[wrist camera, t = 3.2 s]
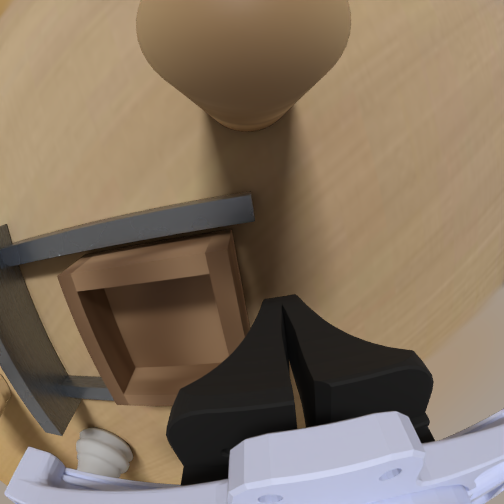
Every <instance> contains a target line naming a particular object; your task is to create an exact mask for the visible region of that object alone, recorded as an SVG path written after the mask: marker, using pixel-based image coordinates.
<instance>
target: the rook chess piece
mask: <svg viewBox="0 0 504 504" xmlns="http://www.w3.org/2000/svg"><path fill="white" fill-rule="evenodd" d="M76 450H77V453H78V454H77V459H78V467H77V470H79V471H83V472H87V473H92V474H97V475H102V476H107V477H113V478H119V477H120V474H122V473H124V472H126V471H127V470H128V468H129V465H130V464H129V462H130V461H132V459H133V454H132V452H131V450H130V448H129V445H128V444H127V443H126V442H125V441H124V440H123V439H121V438H120V437H118V436H117V435H115V434H114V433H111V432H109V431H107V430H104V429H100V428H87V429H84V430H83V431H81V432H80V439H79V440H78V441H77V444H76Z"/></svg>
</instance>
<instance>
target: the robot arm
mask: <svg viewBox="0 0 504 504" xmlns="http://www.w3.org/2000/svg"><path fill="white" fill-rule="evenodd" d="M289 361H290V365H291V368H292V371H293V375H294V378H295V382H296V385H297V388H298V392H299V395H300V399H301V403H302V407H303V412H304V418H305V424H306V428H301V429H297V421H296V412H295V403H294V396H293V390H292V385H291V380H290V376H289ZM432 389H433V378H432V374H431V373H430V371H429V370H428V368H427V367H426V365H425V364H424V363H423V361H422V360H421V359H420V358H419V357H418V356H417V354H416V353H415V352H414V351H412V350H405V349H398V348H391V347H386V346H382V345H378V344H374V343H371V342H368V341H365V340H362V339H359V338H357V337H354V336H352V335H350V334H347V333H345V332H344V331H342V330H340V329H338V328H336V327H334V326H333V325H331V324H329V323H328V322H327V321H325V320H324V319H322V318H321V317H320V316H319V315H317V314H316V313H315V312H314V311H313V310H311V309H310V308H309V307H308V306H307V305H306V304H305V303H304V302H303V301H302V300H301V299H300V298H299V297H298V296H297V295H296V294H294V295H288V296H282V297H275V298H268V299H264V301H263V302H262V306H261V308H260V311H259V313H258V315H257V317H256V319H255V321H254V323H253V325H252V327H251V328H250V330H249V332H248V333H247V335H246V336H245V338H244V339H243V341H242V342H241V343H240V344H239V346H238V347H237V348H236V349H235V350H234V352H233V353H232V354H231V355H230V356H228V357H227V358H226V359H225V360H224V361H223V362H222V363H221V364H220V365H218V366H217V367H216V368H214V369H213V370H212V371H210V372H209V373H207V374H206V375H204V376H203V377H201V378H200V379H198V380H196V381H194V382H192V383H190V384H189V385H187V386H185V387H183V388H181V389H180V390H179V392H178V394H177V397H176V399H175V401H174V404H173V406H172V409H171V413H170V417H169V421H168V425H167V431H166V436H167V439H168V442H169V444H170V445H171V447H172V448H173V450H174V452H175V453H176V455H177V456H178V458H179V460H180V461H181V463H182V464H183V466H184V468H183V474H182V480H181V485H174V484H160V483H150V482H141V481H133V480H126V479H119V478H113V477H107V476H102V475H97V474H92V473H87V472H83V471H79V470H75V469H70V468H67V467H65V466H64V464H63V463H62V462H61V461H60V460H59V459H58V458H57V457H56V456H55V455H53V454H51V453H49V452H46V451H43V450H39V449H36V448H33V447H28V448H27V450H26V452H25V454H24V456H23V457H22V459H21V461H20V463H19V465H18V467H17V469H16V471H15V473H14V474H13V476H12V478H11V480H10V482H9V484H8V486H7V489H6V491H5V496H7V497H8V498H9V499H10V500H11V501H13V502H14V503H15V504H485V503H486V502H488V501H489V500H491V499H492V498H494V497H495V496H497V495H498V494H499V493H501V492H502V491H504V409H502V410H500V411H499V412H497V413H495V414H493V415H491V416H490V417H488V418H486V419H484V420H482V421H480V422H478V423H476V424H474V425H472V426H471V427H468V428H466V429H464V430H462V431H460V432H458V433H455V434H453V435H451V436H449V437H446V438H444V439H442V440H439V441H435V440H434V438H433V436H432V434H431V432H430V430H429V429H428V425H429V423H430V421H429V418H428V417H427V415H426V413H425V411H426V408H427V405H428V402H429V399H430V396H431V393H432Z"/></svg>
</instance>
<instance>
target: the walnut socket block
mask: <svg viewBox="0 0 504 504" xmlns="http://www.w3.org/2000/svg"><path fill="white" fill-rule="evenodd" d="M57 277H58V280H59V283H60V286H61V288H62V291H63V294H64V296H65V299H66V302H67V304H68V307H69V309H70V312H71V314H72V316H73V319H74V321H75V324H76V326H77V328H78V330H79V333H80V335H81V337H82V339H83V341H84V344H85V346H86V348H87V350H88V352H89V354H90V356H91V358H92V360H93V362H94V364H95V366H96V368H97V370H98V372H99V374H100V376H101V378H102V379H103V381H104V383H105V385H106V387H107V389H108V390H109V392H110V394H111V396H112V397H113V399H114V401H115V403H116V404H117V405H138V406H173V404H174V401H175V399H176V397H177V394H178V392H179V390H180V389H181V388H183V387H185V386H187V385H189V384H190V383H192V382H194V381H196V380H198V379H200V378H201V377H203V376H204V375H206V374H207V373H209V372H210V371H212V370H213V369H214V368H216V367H217V366H218V365H220V364H221V363H222V362H223V361H224V360H225V359H226V358H227V357H228V356H230V355H231V354H232V353H233V352H234V350H235V349H236V348H237V347H238V346H239V344H240V343H241V342H242V341H243V339H244V338H245V336H246V335H247V333H248V332H249V330H250V325H249V320H248V315H247V309H246V304H245V299H244V293H243V288H242V283H241V277H240V272H239V267H238V261H237V256H236V250H235V245H234V239H233V234H232V229H229V230H223V231H216V232H210V233H204V234H198V235H192V236H186V237H180V238H174V239H168V240H162V241H157V242H151V243H145V244H139V245H134V246H128V247H123V248H117V249H112V250H106V251H101V252H96V253H90V254H85V255H84V256H83V257H81V258H80V259H79V260H77V261H76V262H75V263H74V264H72V265H71V266H70V267H68V268H67V269H66V270H64V271H63V272H62V273H61V274H59V275H58V276H57Z"/></svg>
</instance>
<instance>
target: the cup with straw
mask: <svg viewBox="0 0 504 504" xmlns="http://www.w3.org/2000/svg"><path fill="white" fill-rule="evenodd" d="M10 398H11V392H10V389H9V387H8V385H7V383H6V381H5V380H4V378H3V377H2V376H1V374H0V417H1V415H2V413H3V411H4V409H5V407H6V402H7V400H9V399H10Z"/></svg>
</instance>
